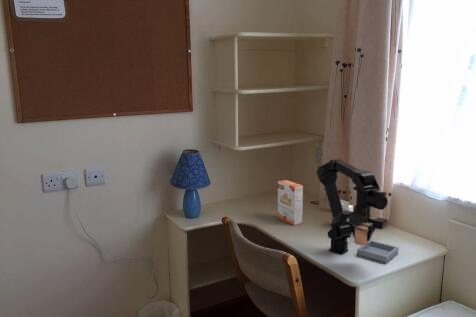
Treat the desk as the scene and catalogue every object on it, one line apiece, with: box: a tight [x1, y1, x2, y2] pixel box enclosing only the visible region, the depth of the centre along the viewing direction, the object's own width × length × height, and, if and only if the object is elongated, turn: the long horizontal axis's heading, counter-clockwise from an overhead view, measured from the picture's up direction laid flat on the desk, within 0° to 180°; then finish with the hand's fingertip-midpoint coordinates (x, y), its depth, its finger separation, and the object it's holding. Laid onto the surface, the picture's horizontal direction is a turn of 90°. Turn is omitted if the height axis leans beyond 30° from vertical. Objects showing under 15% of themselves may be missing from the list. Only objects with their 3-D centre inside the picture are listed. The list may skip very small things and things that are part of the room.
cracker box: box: [277, 179, 304, 226], centre depth 229 cm, size 14×6×21 cm, turn 33°
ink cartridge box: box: [340, 199, 354, 212], centre depth 220 cm, size 9×5×15 cm, turn 45°
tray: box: [356, 239, 400, 265], centre depth 189 cm, size 13×13×3 cm
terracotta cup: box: [354, 225, 368, 246], centre depth 178 cm, size 6×6×6 cm
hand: (361, 239), depth 178 cm, fingers closed on terracotta cup, 5 cm apart
